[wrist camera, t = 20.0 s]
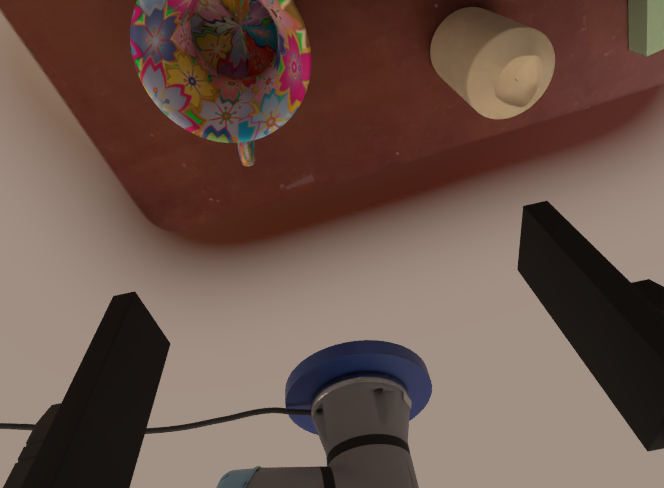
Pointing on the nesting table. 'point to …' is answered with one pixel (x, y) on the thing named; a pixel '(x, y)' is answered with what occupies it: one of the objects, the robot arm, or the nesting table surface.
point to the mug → (223, 65)
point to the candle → (492, 61)
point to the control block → (646, 26)
